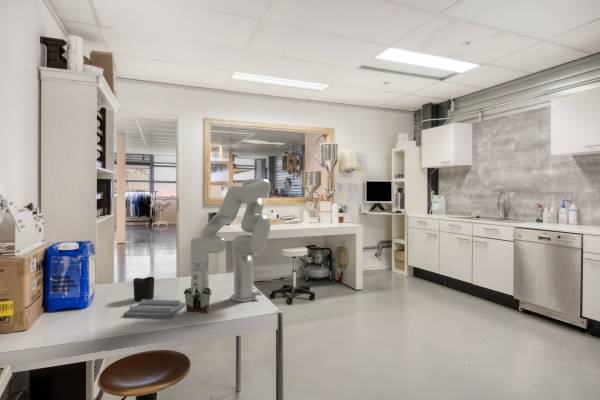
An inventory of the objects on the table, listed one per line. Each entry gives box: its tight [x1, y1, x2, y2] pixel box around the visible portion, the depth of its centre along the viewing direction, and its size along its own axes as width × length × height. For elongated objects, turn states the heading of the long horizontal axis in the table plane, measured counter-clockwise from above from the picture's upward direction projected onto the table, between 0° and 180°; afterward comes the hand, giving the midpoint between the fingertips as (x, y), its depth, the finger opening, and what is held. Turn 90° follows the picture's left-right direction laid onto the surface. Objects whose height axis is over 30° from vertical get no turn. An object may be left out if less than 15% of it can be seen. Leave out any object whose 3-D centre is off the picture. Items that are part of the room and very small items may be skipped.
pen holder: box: [132, 276, 155, 303], centre depth 168 cm, size 9×9×10 cm
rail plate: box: [123, 298, 186, 319], centre depth 151 cm, size 20×16×4 cm
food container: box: [183, 287, 212, 315], centre depth 152 cm, size 12×6×10 cm, turn 84°
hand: (199, 306), depth 151 cm, fingers closed on food container, 5 cm apart
